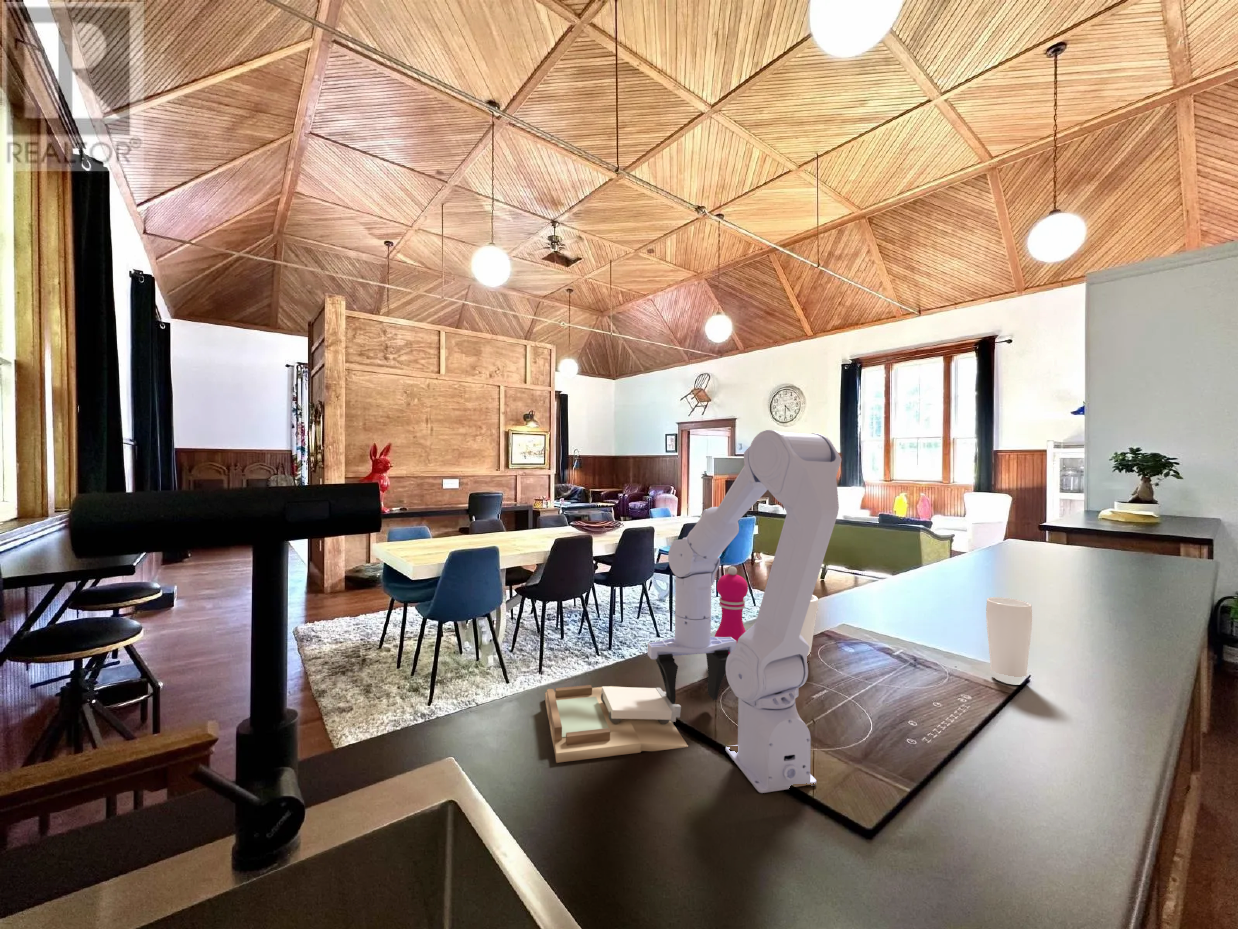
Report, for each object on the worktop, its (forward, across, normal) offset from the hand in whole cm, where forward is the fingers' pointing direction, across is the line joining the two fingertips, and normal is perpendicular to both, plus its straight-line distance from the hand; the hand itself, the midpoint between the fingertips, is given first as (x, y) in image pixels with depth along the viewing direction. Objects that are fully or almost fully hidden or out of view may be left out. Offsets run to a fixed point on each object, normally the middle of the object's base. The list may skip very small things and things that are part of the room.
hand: (691, 699), depth 78 cm
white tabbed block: (+1, +10, 0) cm, 10 cm away
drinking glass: (+2, -63, +1) cm, 63 cm away
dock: (+3, +13, 0) cm, 14 cm away
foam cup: (+2, -29, -17) cm, 34 cm away
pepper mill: (+2, -14, -15) cm, 21 cm away
